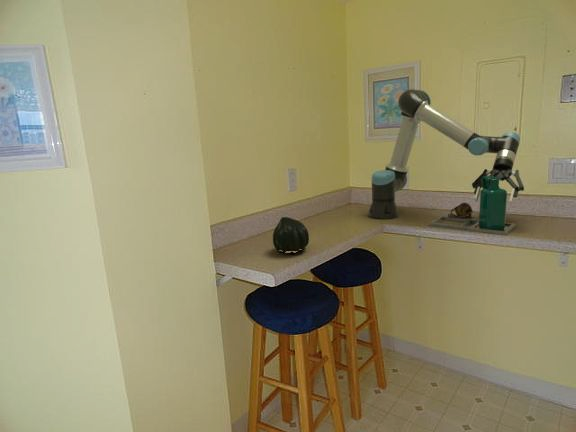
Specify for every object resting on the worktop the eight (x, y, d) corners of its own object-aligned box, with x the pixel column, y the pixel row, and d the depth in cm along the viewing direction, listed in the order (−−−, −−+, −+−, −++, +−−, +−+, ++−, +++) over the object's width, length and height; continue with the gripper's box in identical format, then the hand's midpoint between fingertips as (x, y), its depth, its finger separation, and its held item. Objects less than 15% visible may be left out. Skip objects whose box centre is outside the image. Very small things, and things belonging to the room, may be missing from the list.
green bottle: (506, 229, 166) (510, 177, 161) (487, 230, 165) (490, 179, 160) (493, 223, 175) (496, 175, 170) (475, 225, 175) (477, 176, 170)
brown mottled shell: (479, 208, 187) (467, 200, 196) (455, 208, 184) (444, 199, 193) (475, 221, 190) (463, 213, 199) (451, 221, 187) (441, 213, 196)
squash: (322, 237, 153) (300, 207, 157) (297, 248, 143) (275, 216, 147) (303, 254, 163) (283, 226, 166) (279, 266, 152) (258, 236, 156)
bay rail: (428, 225, 181) (428, 222, 180) (441, 218, 192) (441, 216, 191) (506, 235, 159) (506, 231, 159) (515, 226, 171) (515, 223, 170)
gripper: (537, 168, 167) (527, 209, 160) (475, 167, 184) (464, 204, 176) (536, 157, 162) (525, 198, 155) (472, 157, 179) (460, 194, 171)
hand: (492, 201), depth 165 cm, fingers open, 13 cm apart
